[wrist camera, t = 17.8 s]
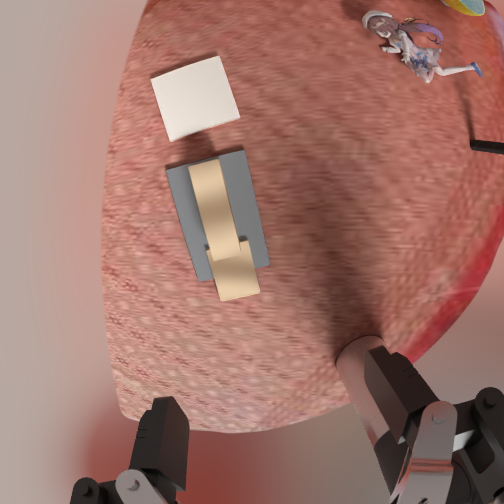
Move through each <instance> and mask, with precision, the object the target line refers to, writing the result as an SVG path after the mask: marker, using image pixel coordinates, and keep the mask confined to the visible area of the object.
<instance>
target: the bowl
mask: <svg viewBox="0 0 504 504" xmlns="http://www.w3.org/2000/svg"><path fill="white" fill-rule="evenodd" d="M440 1H441V2H442V3H444V4H445V5H447V6H450V7H452V8H453V9H455V10H457V11H458V12H460V13H463V14H466V15H471V16H479V15H483V14H484V11H485V8H484V4H483V1H482V0H440Z"/></svg>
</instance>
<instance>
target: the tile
mask: <svg viewBox="0 0 504 504" xmlns="http://www.w3.org/2000/svg"><path fill="white" fill-rule="evenodd" d="M151 82H152V85H153V89H154V92H155V95H156V99H157V102H158V105H159V108H160V112H161V115H162V118H163V121H164V124H165V127H166V131H167V134H168V137H169V140H170V141H171V142H173V141H175V140H178V139H180V138H183V137H186V136H189V135H191V134H194V133H197V132H200V131H203V130H206V129H209V128H212V127H215V126H218V125H221V124H224V123H227V122H231V121H234V120H237V119H240V115H239V112H238V109H237V106H236V103H235V100H234V97H233V94H232V91H231V88H230V85H229V82H228V79H227V76H226V73H225V71H224V68H223V65H222V62H221V59H220V56H216V57H212V58H209V59H206V60H202V61H199V62H196V63H193V64H190V65H187V66H184V67H181V68H179V69H176V70H173V71H171V72H168V73H165V74H163V75H160V76H158V77H155V78H153V79H151Z"/></svg>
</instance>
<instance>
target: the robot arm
mask: <svg viewBox="0 0 504 504" xmlns="http://www.w3.org/2000/svg"><path fill="white" fill-rule="evenodd" d="M336 368H337V370H338V373H339V375H340V377H341V379H342V381H343V383H344V386H345V388H346V390H347V392H348V394H349V396H350V398H351V401H352V403H353V405H354V407H355V409H356V411H357V413H358V416H359V418H360V420H361V422H362V424H363V427H364V429H365V431H366V433H367V435H368V438H369V440H370V442H371V444H372V446H373V449H374V451H375V454H376V456H377V458H378V461H379V464H380V468H381V471H382V473H383V476H384V478H385V481H386V483H387V486H388V489H389V492H390V495H391V498H390V500H389V502H388V504H504V395H503V393H502V392H501V391H500V390H499V389H497V388H493V387H488V388H484V389H482V390H481V391H480V392H479V393H478V394H477V396H476V398H475V399H474V400H471V401H467V402H463V403H460V404H454V405H452V404H450V403H449V402H446V401H440V400H439V399H438V398H437V397H436V395H435V394H434V393H433V391H432V390H431V389H430V387H429V386H428V385H427V383H426V382H425V381H424V379H423V378H422V377H421V375H420V374H418V371H417V370H416V369H415V368H414V367H413V365H412V364H411V362H410V361H409V360H408V359H407V357H405V356H403V355H401V354H399V353H398V352H395V353H393V354H392V352H391V351H390V350H389V348H388V347H387V346H386V344H385V343H384V342H383V340H382V339H381V338H379V337H377V336H365V337H361V338H359V339H356V340H355V341H353V342H351V343H350V344H349V345H347V346H346V347H345V348H344V349H343V350H342V352H341V353H340V355H339V356H338V359H337V362H336ZM189 429H190V428H189V422H188V419H187V417H186V415H185V414H184V412H183V411H182V409H181V408H180V406H179V405H178V403H177V402H176V400H175V399H174V397H172V396H170V397H160V398H155V399H154V401H153V405H152V409H151V410H146V412H145V413H144V415H143V416H142V418H141V419H140V422H139V426H138V431H137V435H136V439H135V443H134V448H133V452H132V457H131V461H130V466H129V469H128V470H127V471H124V472H122V473H121V474H120V475H119V476H118V478H117V480H114V481H108V482H103V483H97V482H96V481H95V480H93V479H91V478H87V477H86V478H81V479H79V480H78V481H77V482H76V483H75V485H74V488H73V492H72V496H71V501H70V504H181V503H180V502H179V501H178V500H177V499H176V491H185V488H186V470H187V455H188V442H189V441H188V440H189ZM455 450H456V451H455ZM453 451H454V452H453Z"/></svg>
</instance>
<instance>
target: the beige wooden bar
mask: <svg viewBox="0 0 504 504" xmlns="http://www.w3.org/2000/svg"><path fill="white" fill-rule="evenodd" d="M188 168H189V172H190V176H191V180H192V184H193V188H194V192H195V196H196V200H197V203H198V207H199V211H200V215H201V218H202V222H203V226H204V229H205V233H206V237H207V240H208V244H209V247H210V248H208V249H206V252H207V256H208V259H209V263H210V266H211V269H212V273H213V276H214V279H215V283H216V286H217V289H218V292H219V296H220V299H221V302H222V301H227V300H231V299H236V298H240V297H245V296H249V295H253V294H258V293H260V289H259V285H258V281H257V276H256V272H255V268H254V264H253V259H252V255H251V251H250V246H249V242H248V239H246V240H242V241H239V237H238V233H237V229H236V225H235V221H234V217H233V213H232V208H231V204H230V200H229V196H228V192H227V188H226V183H225V179H224V175H223V171H222V167H221V162H220V158H219V159H215V160H211V161H207V162H203V163H200V164H196V165H192V166H189V167H188Z"/></svg>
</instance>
